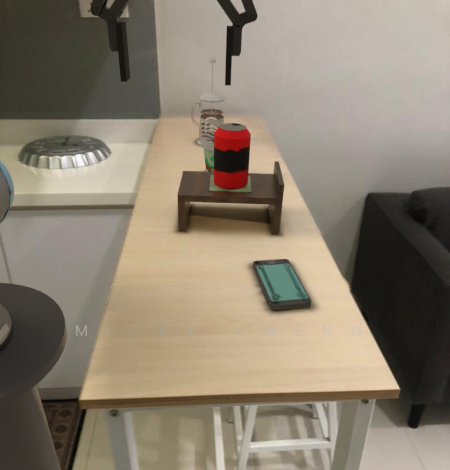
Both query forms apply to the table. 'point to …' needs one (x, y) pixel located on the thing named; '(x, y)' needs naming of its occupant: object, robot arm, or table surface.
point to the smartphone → (281, 284)
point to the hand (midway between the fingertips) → (176, 81)
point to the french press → (209, 113)
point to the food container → (208, 154)
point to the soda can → (231, 155)
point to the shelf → (232, 193)
